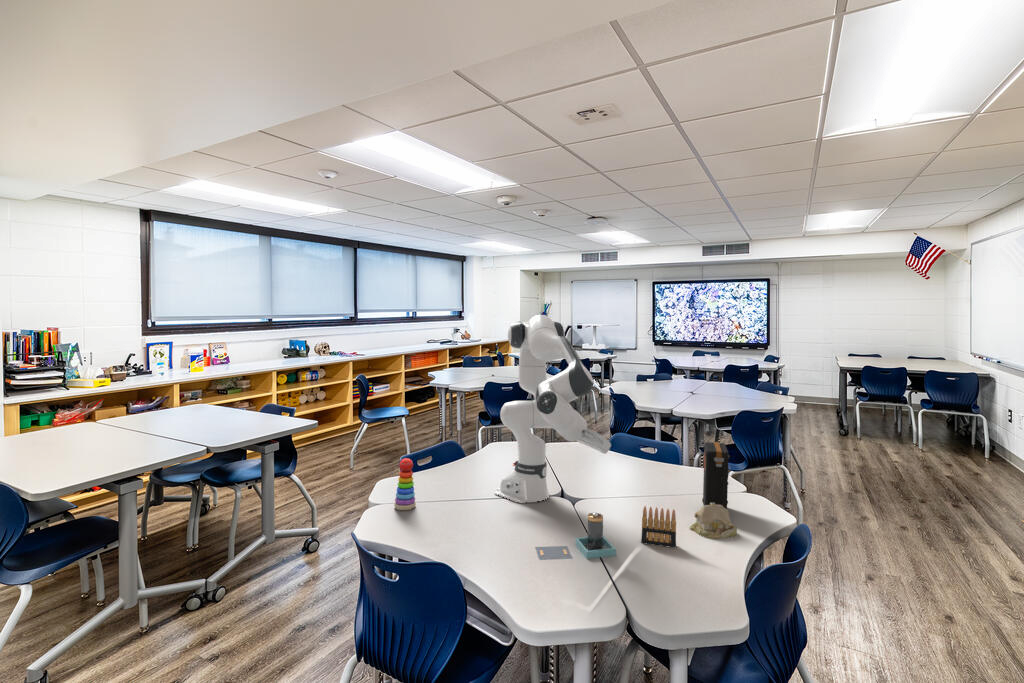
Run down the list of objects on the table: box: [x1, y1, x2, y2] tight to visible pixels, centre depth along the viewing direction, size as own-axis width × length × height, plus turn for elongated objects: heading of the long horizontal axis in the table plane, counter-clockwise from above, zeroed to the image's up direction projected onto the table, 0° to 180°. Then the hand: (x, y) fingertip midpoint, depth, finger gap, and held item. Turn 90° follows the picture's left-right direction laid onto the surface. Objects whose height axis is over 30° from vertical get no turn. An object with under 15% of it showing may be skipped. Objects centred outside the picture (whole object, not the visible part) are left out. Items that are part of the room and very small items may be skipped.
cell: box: [586, 512, 604, 551], centre depth 149 cm, size 5×5×12 cm
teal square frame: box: [574, 535, 617, 560], centre depth 149 cm, size 9×9×3 cm
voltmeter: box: [701, 441, 730, 510], centre depth 182 cm, size 16×9×25 cm, turn 161°
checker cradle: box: [535, 545, 573, 561], centre depth 148 cm, size 10×8×1 cm
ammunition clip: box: [640, 505, 677, 548], centre depth 156 cm, size 11×2×12 cm, turn 73°
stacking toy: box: [393, 457, 417, 511], centre depth 185 cm, size 8×8×19 cm
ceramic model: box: [689, 502, 738, 539], centre depth 165 cm, size 14×11×10 cm
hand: (593, 446), depth 161 cm, fingers open, 8 cm apart
